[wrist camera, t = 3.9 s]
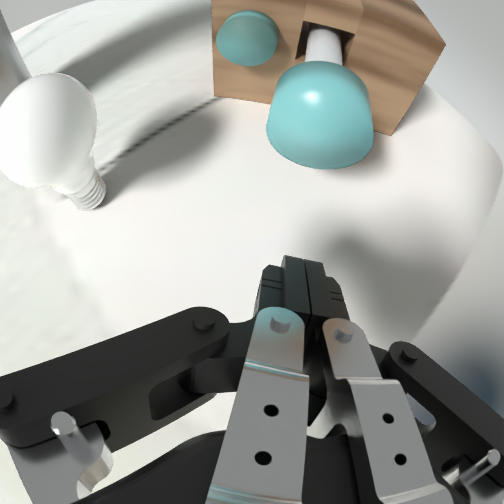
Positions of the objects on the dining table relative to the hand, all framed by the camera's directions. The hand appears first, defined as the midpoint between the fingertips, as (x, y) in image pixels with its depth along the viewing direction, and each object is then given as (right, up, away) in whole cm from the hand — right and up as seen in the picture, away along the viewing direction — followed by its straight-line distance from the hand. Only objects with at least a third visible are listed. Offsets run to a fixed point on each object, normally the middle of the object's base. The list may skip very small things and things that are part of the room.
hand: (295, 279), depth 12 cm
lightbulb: (-13, +5, +8) cm, 16 cm away
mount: (+4, +17, +13) cm, 21 cm away
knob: (+3, +13, +6) cm, 15 cm away
